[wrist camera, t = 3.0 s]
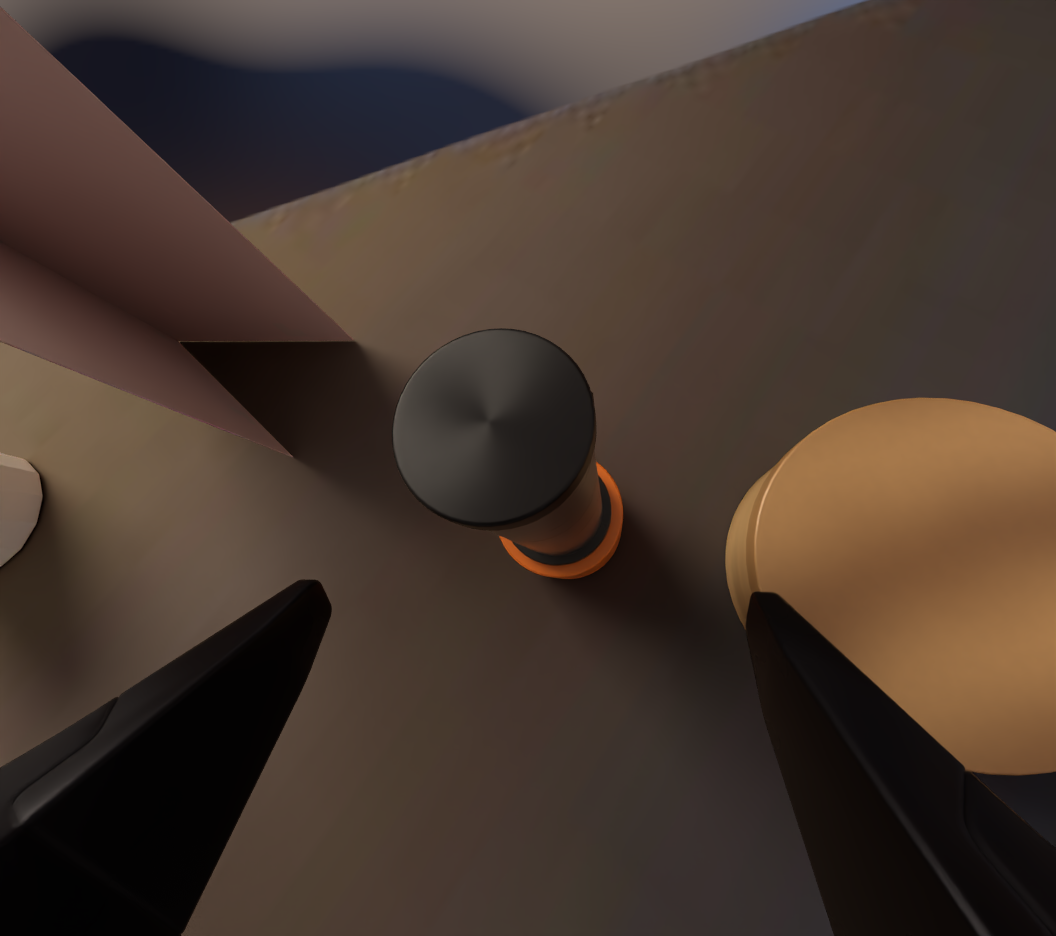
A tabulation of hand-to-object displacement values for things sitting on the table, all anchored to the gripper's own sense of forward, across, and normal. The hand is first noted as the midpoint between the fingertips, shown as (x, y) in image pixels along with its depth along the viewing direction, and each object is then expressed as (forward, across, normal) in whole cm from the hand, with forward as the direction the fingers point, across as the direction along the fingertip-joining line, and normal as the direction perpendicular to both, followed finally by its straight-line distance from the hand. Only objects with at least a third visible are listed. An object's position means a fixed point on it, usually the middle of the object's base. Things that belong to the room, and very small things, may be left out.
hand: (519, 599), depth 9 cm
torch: (+9, 0, +5) cm, 10 cm away
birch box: (+8, -11, +6) cm, 15 cm away
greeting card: (+16, +16, -1) cm, 23 cm away
